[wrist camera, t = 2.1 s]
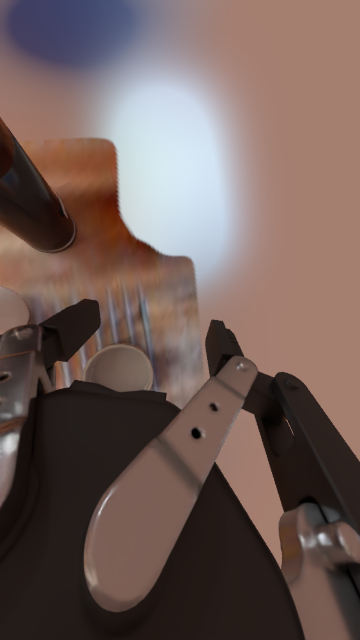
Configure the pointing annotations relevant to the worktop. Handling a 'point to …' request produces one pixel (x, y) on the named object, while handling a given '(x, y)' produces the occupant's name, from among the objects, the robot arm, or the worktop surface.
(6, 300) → the flower vase
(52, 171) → the worktop surface
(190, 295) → the worktop surface
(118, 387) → the bowl
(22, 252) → the worktop surface
